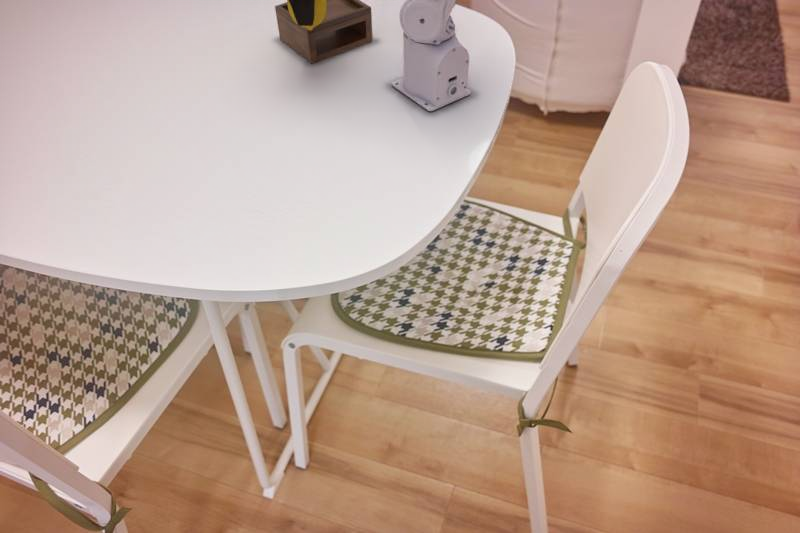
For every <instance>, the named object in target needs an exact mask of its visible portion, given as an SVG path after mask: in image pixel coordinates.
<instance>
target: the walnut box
mask: <svg viewBox="0 0 800 533" xmlns="http://www.w3.org/2000/svg"><path fill="white" fill-rule="evenodd" d="M326 2H327V8H326V14H325V17H324V19H323V20H322V22H321V23H320V24H319V25H317V26H315V27H314V28H313V29H312V30H308V29H307V28H305V27H302V26H299V25H298V24H297V23H296V22H295V21H294V20H293V19H292V17H291V15H290V13H289V9H288V4H287V1H286V2H284V3H281V4H277V5H275V6H274V11H275V16H276V22H277V29H278V34H279V40H280V41H281V43H283V44H284V45H286V46H287V47H289V48H290V49H291V50H292V51H294V52H295V53H297V55H299V56H301V57H302V58H303V59H304V60H306V61H307V62H308V63H310V64H311V65H312V64H314V63H317V62H321V61H323V60H326V59H328V58H332V57H334V56H336V55H339V54H342V53H344V52H347V51H350V50H353V49H356V48H359V47H361V46H364V45H366V44H369V43H372V42H374V41H373V19H372V15H373V14H372V7H371V6H370V5H368V4H366V3H365V2H364V1H362V0H326Z"/></svg>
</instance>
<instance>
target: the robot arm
mask: <svg viewBox="0 0 800 533" xmlns="http://www.w3.org/2000/svg"><path fill="white" fill-rule="evenodd" d="M289 2H290V5H291V8H292V10H293V13H294V16H295V18H296V21H297V23H298V25H299V26H313V22H314V13H315V0H289ZM457 2H458V0H405V1H404V3H403V4H402V6H401V7H400V12H399V24H400V26H401V29H402V30H403V31H402V32H403V34H402V35H403V42H402V44H403V46H402V48H403V50H402V51H403V57H402V58H403V76H402V77H400V78H398V79H395V80H393V81H391V86H392V87H394V89H396V90H397V91H399V92H400V93H401V94H404V95H405V96H406V97H408V98H409V99H411V100H412V101H414V102H415V103H416V104H418V105H419V106H420V107H422V108H423V109H425V110H426V111H428V112H433V111H436V110H437V109H441V108H442V107H444V106H447V105H449V104H452V103H453V102H456V101H458V100H461V99H463V98H465V97H467V96H469V95H471V94H472V92H471V90H470V89H469V88H468V80H469V69H470V68H469V66H470V55H469V51H468V50H467V48H466V47H465V46H463V45H462V44H461V42H460V41H459V40H458V38H457V33H456V25H455V22H454V20H453V18H452V16H451V13H452V11H453V9H454V8H455V7H456V4H457Z"/></svg>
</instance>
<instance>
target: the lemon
mask: <svg viewBox="0 0 800 533" xmlns="http://www.w3.org/2000/svg"><path fill="white" fill-rule="evenodd" d="M286 2H287V4H288V9H289V13H290V15H291V17H292V19H293V20H294V21H295V22H296V23H297V21H296V18H295V16H294V13H293V10H292V8H291V5H290V2H289V0H286ZM326 8H327V2H326V0H315V13H314V22H313V26H302V27H305V28H307V29H308V30H312V29H313V28H314V27H315V26H317V25H319V24H320V23H321V22H322V20H323V19H324V17H325V14H326ZM297 24H298V23H297Z"/></svg>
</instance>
